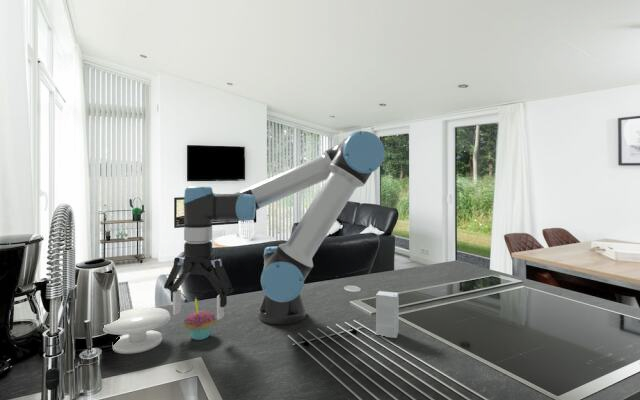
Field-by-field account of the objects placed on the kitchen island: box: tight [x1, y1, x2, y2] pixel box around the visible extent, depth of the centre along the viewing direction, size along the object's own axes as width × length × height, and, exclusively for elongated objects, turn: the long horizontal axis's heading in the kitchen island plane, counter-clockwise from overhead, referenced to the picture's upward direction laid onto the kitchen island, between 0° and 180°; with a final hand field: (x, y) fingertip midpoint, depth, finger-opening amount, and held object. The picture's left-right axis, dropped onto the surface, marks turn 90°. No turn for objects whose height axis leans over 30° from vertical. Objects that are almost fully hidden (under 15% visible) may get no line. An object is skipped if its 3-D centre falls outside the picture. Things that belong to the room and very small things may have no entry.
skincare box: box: [375, 290, 400, 339], centre depth 107 cm, size 6×4×12 cm
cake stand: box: [102, 306, 171, 355], centre depth 101 cm, size 17×17×7 cm
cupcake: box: [184, 296, 216, 341], centre depth 105 cm, size 9×8×12 cm
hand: (198, 315), depth 105 cm, fingers open, 13 cm apart
